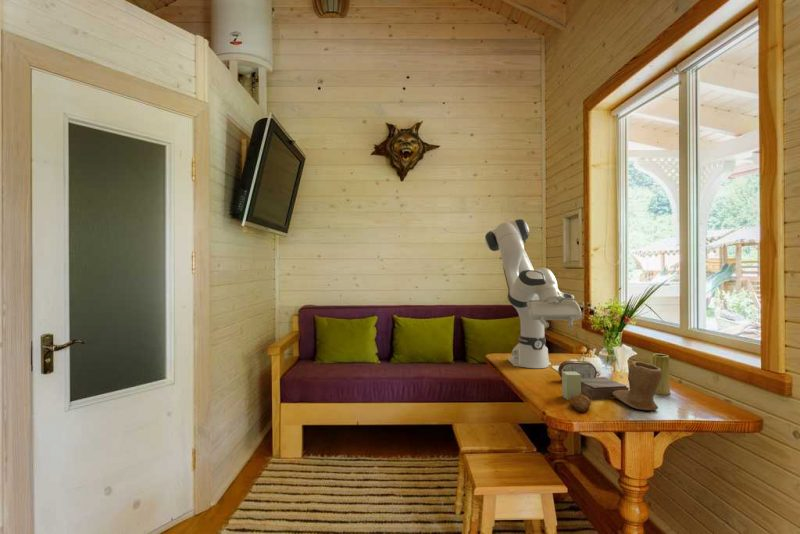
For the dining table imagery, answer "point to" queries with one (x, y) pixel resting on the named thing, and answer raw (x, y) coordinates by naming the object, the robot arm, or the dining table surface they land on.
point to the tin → (578, 368)
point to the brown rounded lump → (580, 402)
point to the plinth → (600, 387)
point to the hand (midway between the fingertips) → (559, 327)
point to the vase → (663, 364)
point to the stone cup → (641, 386)
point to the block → (571, 384)
